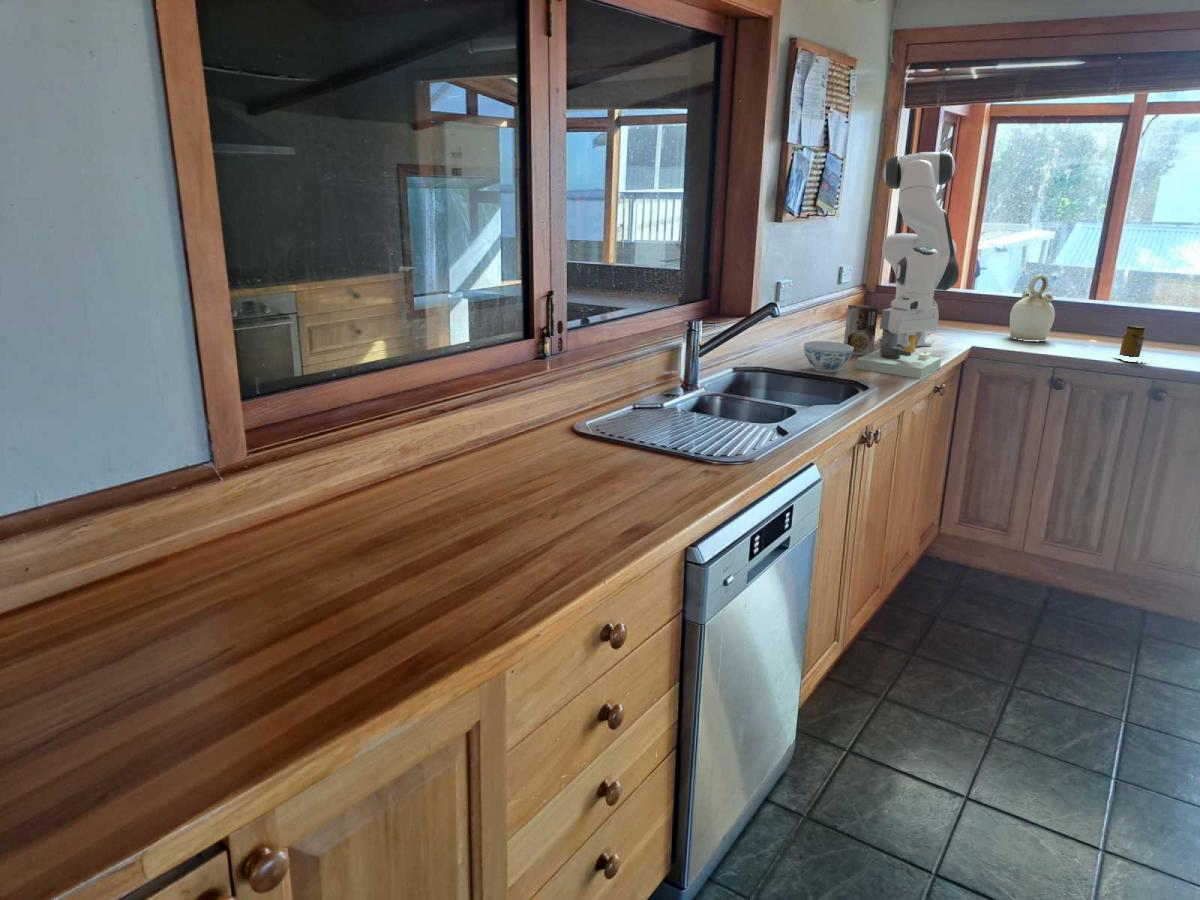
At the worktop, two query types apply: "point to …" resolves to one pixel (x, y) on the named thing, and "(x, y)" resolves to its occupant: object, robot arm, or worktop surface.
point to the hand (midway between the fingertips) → (910, 346)
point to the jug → (1032, 313)
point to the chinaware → (827, 355)
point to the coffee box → (861, 328)
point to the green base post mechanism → (898, 366)
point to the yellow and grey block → (899, 349)
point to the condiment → (1132, 341)
